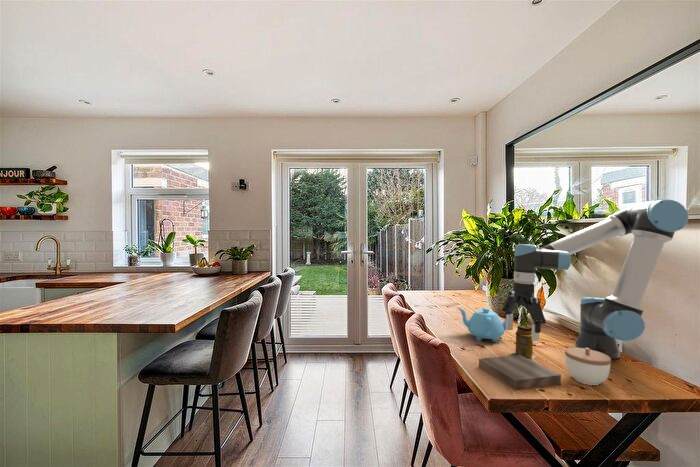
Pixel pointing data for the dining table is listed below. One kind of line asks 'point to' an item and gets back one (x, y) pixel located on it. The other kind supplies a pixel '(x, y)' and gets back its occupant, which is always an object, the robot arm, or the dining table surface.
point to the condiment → (524, 342)
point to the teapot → (484, 324)
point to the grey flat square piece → (519, 372)
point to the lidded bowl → (587, 365)
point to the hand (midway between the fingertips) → (521, 335)
